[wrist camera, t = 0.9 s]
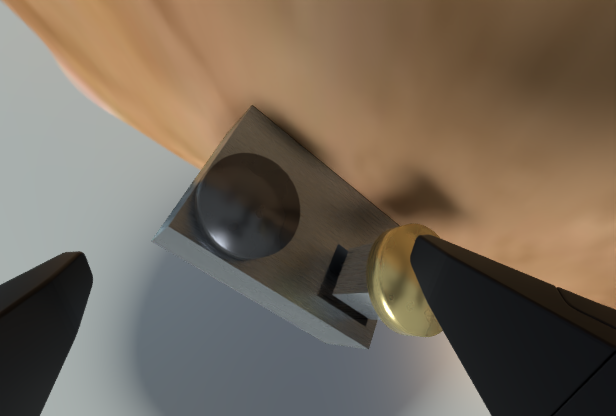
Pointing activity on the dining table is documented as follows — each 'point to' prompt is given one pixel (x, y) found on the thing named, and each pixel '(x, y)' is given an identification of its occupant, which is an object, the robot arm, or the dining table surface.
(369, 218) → the block
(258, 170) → the black plunger
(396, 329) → the brass plunger
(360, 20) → the dining table surface
